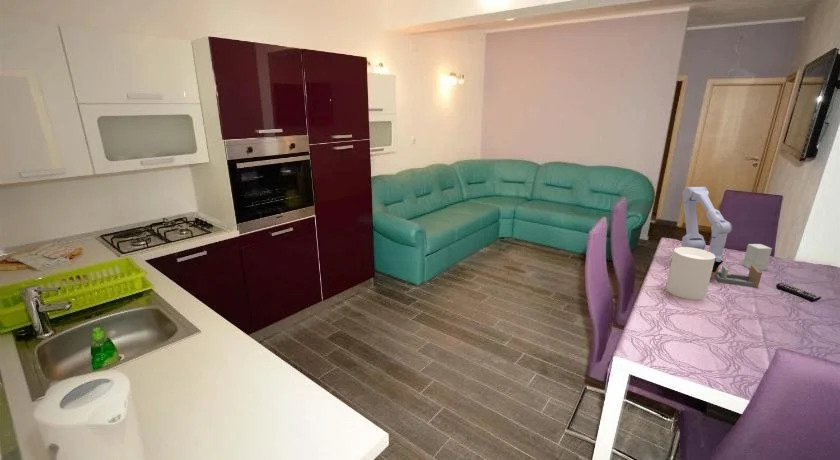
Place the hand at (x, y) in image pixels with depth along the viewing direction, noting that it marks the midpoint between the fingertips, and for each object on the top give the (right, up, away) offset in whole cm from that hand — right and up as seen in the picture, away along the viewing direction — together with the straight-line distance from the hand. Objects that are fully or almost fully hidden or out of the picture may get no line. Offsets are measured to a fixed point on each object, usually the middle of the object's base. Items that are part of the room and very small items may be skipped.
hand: (711, 269), depth 197 cm
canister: (-23, -9, -14) cm, 28 cm away
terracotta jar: (0, -2, 0) cm, 2 cm away
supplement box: (+33, 0, +13) cm, 36 cm away
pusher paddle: (+6, -5, -1) cm, 8 cm away
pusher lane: (+9, -5, -3) cm, 11 cm away
